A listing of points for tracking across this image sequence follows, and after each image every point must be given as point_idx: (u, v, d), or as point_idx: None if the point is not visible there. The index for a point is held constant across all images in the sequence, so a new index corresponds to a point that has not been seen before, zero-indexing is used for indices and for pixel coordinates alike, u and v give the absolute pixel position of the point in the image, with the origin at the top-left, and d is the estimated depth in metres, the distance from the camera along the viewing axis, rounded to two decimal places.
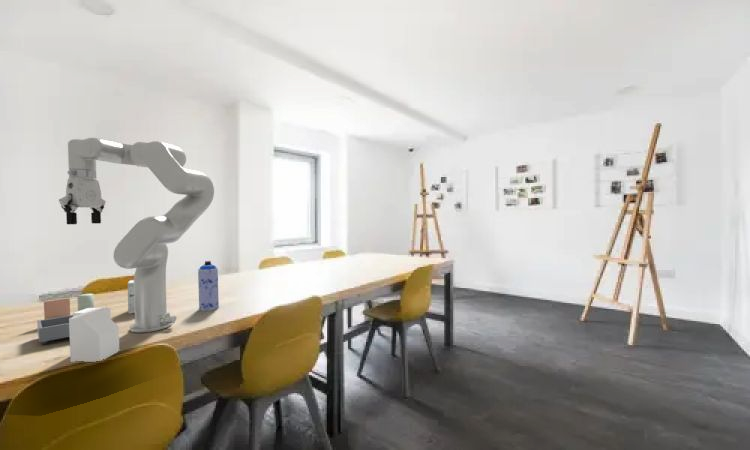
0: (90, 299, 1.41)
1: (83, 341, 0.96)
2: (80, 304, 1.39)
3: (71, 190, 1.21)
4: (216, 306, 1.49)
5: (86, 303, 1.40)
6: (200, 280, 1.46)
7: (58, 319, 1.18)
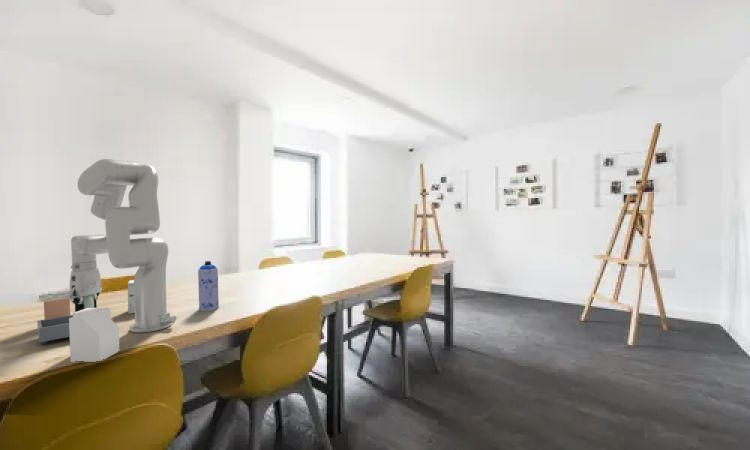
0: (90, 299, 1.41)
1: (83, 341, 0.96)
2: None
3: (74, 282, 1.36)
4: (216, 306, 1.49)
5: (86, 303, 1.40)
6: (200, 280, 1.46)
7: (58, 319, 1.18)
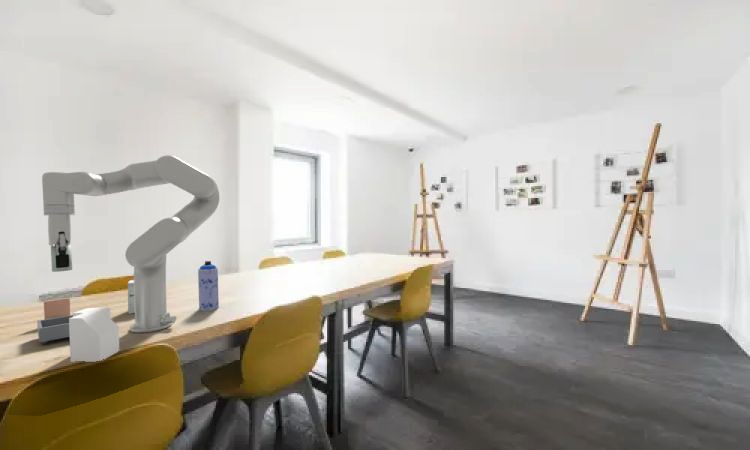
0: (51, 251, 1.14)
1: (83, 341, 0.96)
2: None
3: None
4: (216, 306, 1.49)
5: None
6: (200, 280, 1.46)
7: (58, 319, 1.18)
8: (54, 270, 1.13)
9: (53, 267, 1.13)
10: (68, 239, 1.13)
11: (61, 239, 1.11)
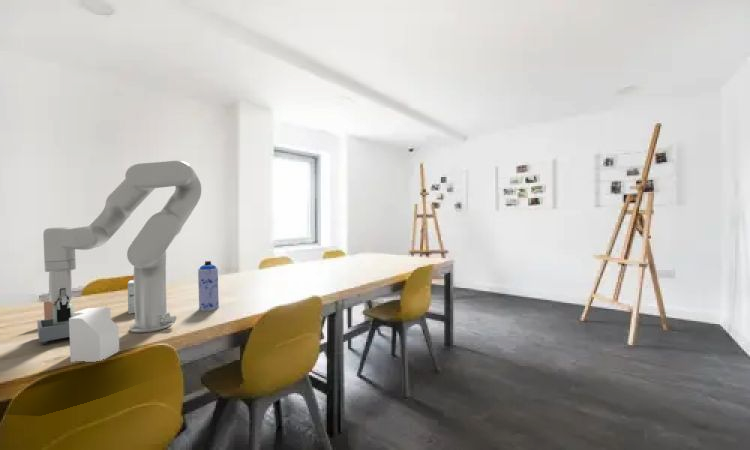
0: (53, 311, 1.14)
1: (83, 341, 0.96)
2: None
3: None
4: (216, 306, 1.49)
5: None
6: (200, 280, 1.46)
7: None
8: None
9: None
10: (69, 295, 1.13)
11: (62, 293, 1.10)
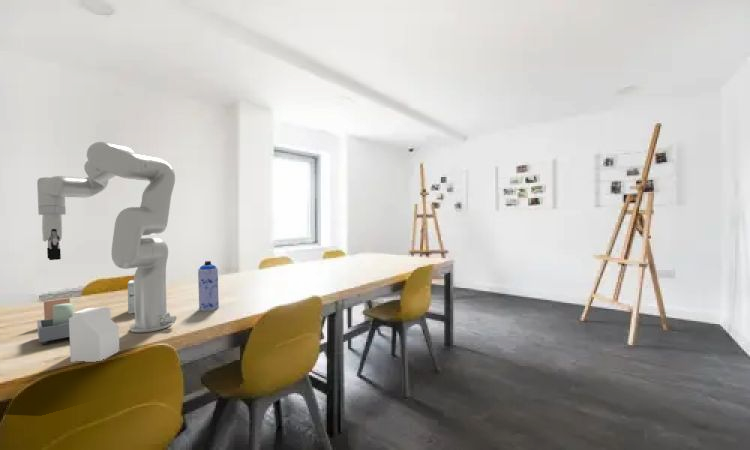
0: None
1: (83, 341, 0.96)
2: None
3: None
4: (216, 306, 1.49)
5: None
6: (200, 280, 1.46)
7: None
8: None
9: None
10: (59, 235, 1.30)
11: (53, 234, 1.28)
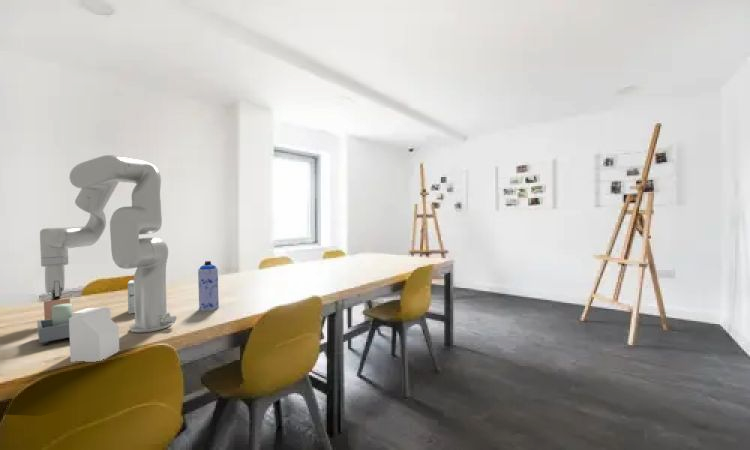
0: None
1: (83, 341, 0.96)
2: None
3: None
4: (216, 306, 1.49)
5: None
6: (200, 280, 1.46)
7: None
8: None
9: None
10: (62, 287, 1.29)
11: (56, 289, 1.28)
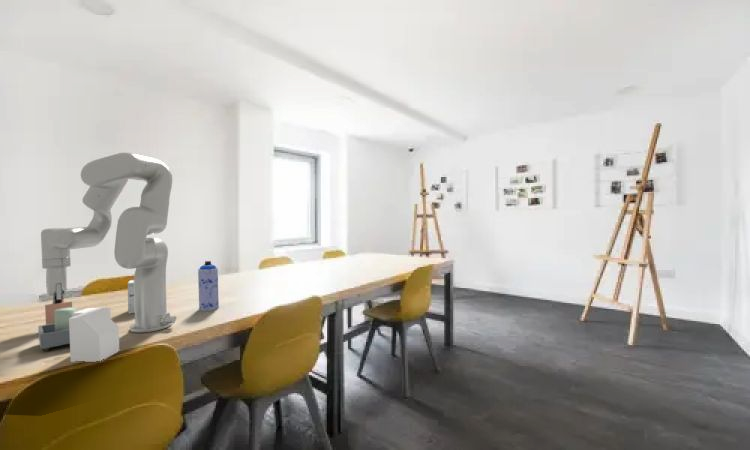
0: None
1: (83, 341, 0.96)
2: None
3: None
4: (216, 306, 1.49)
5: None
6: (200, 280, 1.46)
7: None
8: None
9: None
10: (64, 290, 1.24)
11: (58, 292, 1.23)
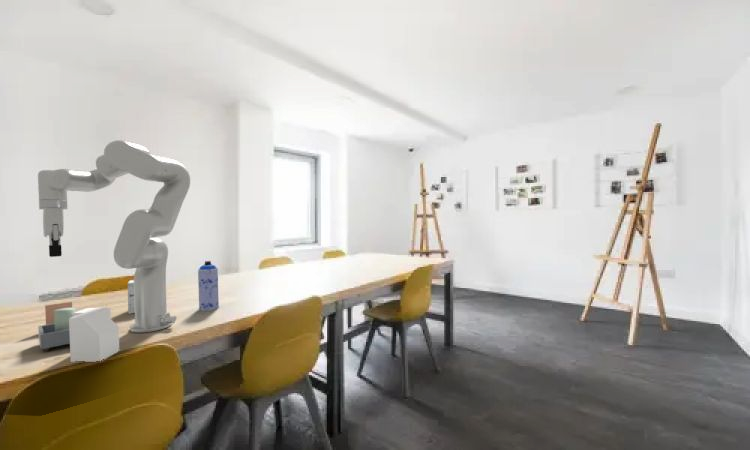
0: None
1: (83, 341, 0.96)
2: None
3: None
4: (216, 306, 1.49)
5: None
6: (200, 280, 1.46)
7: None
8: None
9: None
10: (61, 231, 1.25)
11: (54, 233, 1.24)
